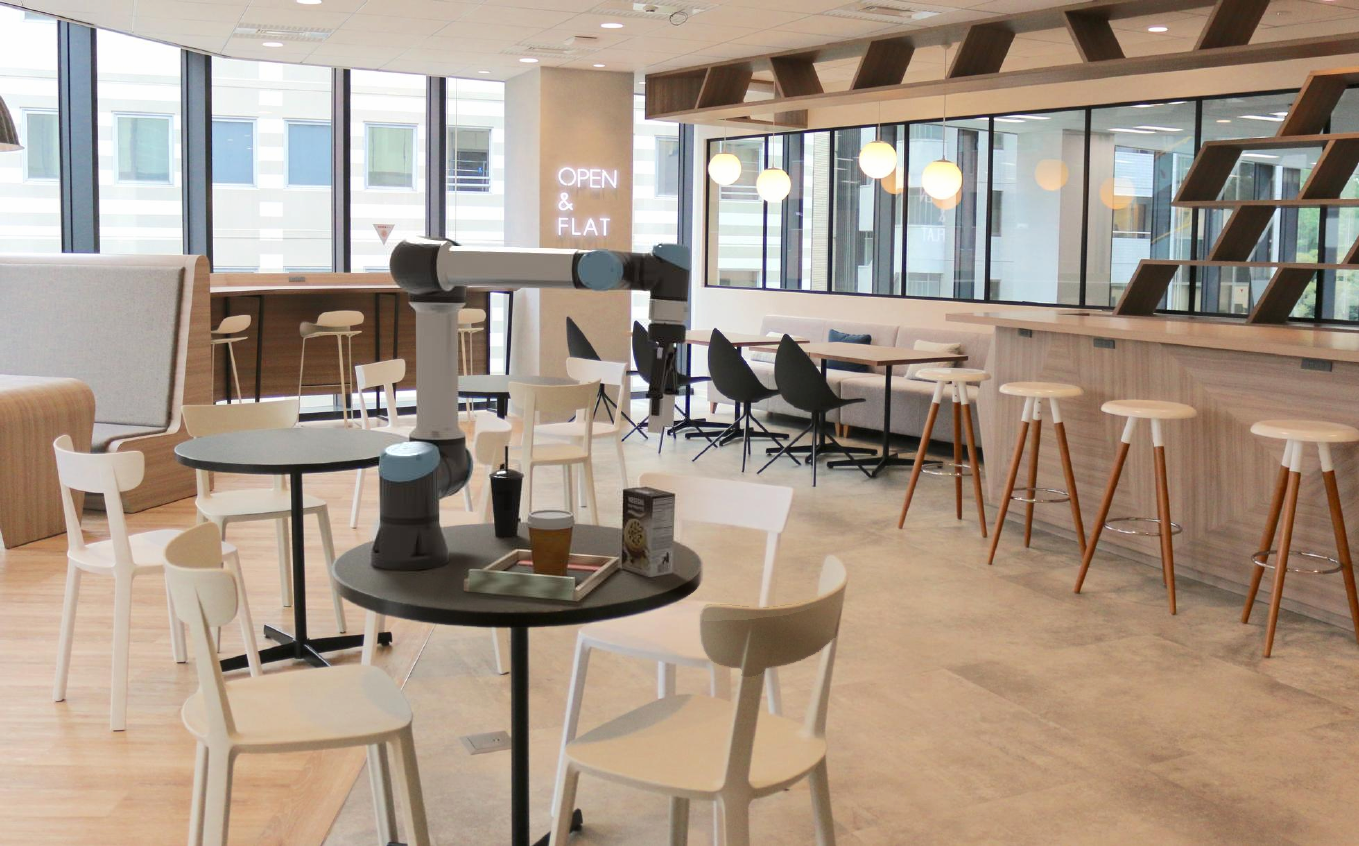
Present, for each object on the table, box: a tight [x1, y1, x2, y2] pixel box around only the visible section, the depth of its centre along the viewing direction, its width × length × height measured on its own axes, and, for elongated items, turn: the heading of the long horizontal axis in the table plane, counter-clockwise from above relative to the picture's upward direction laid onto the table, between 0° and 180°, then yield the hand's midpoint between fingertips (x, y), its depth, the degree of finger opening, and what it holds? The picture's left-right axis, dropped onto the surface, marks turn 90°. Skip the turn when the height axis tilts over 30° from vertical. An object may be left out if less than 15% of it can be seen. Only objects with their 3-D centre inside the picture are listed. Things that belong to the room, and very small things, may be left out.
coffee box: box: [621, 486, 676, 578], centre depth 233 cm, size 9×6×16 cm
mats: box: [516, 559, 603, 572], centre depth 236 cm, size 18×4×1 cm, turn 77°
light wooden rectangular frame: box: [463, 548, 620, 602], centre depth 226 cm, size 22×26×4 cm
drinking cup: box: [488, 445, 525, 538], centre depth 261 cm, size 8×8×20 cm
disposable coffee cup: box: [525, 509, 576, 577], centre depth 228 cm, size 10×10×12 cm
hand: (660, 429), depth 235 cm, fingers open, 13 cm apart
